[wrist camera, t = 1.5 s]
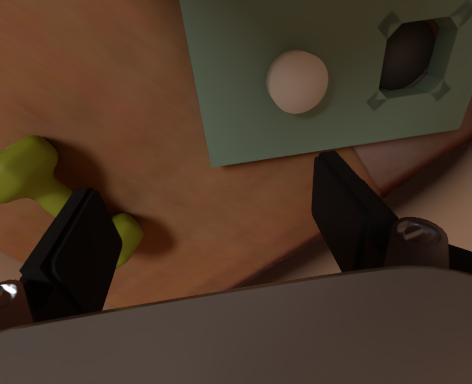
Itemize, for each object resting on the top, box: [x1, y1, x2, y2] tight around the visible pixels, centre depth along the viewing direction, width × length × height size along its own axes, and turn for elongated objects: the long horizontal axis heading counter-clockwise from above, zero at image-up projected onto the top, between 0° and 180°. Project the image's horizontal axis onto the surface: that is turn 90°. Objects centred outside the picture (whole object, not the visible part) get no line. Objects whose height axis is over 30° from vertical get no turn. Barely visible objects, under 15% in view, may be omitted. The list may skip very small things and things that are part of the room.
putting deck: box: [179, 0, 472, 167], centre depth 27 cm, size 16×28×2 cm, turn 97°
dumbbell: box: [0, 135, 143, 268], centre depth 30 cm, size 16×8×7 cm, turn 30°
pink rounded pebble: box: [266, 49, 328, 114], centre depth 25 cm, size 5×5×2 cm
